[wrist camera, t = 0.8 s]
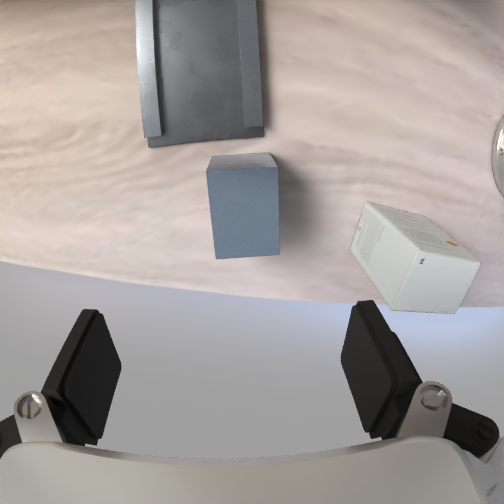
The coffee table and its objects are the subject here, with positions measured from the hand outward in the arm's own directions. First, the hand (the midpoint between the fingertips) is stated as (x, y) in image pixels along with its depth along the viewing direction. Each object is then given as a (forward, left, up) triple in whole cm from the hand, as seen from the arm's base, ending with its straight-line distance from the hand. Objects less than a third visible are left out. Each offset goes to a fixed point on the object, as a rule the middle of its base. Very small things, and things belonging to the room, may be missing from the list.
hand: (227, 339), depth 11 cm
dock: (+2, -14, -19) cm, 24 cm away
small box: (-16, +5, -19) cm, 26 cm away
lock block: (-1, 0, -19) cm, 19 cm away
